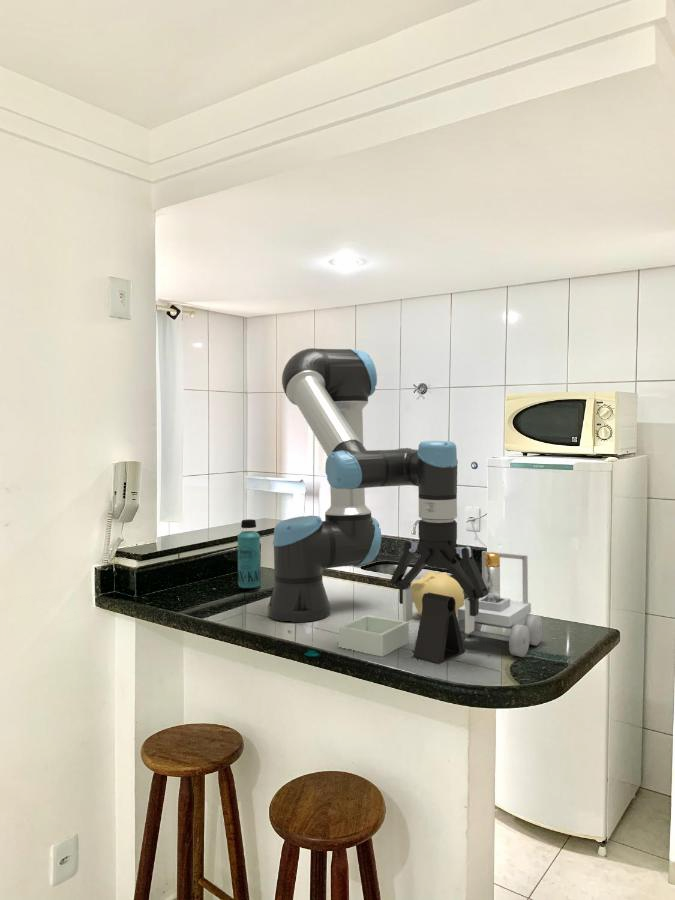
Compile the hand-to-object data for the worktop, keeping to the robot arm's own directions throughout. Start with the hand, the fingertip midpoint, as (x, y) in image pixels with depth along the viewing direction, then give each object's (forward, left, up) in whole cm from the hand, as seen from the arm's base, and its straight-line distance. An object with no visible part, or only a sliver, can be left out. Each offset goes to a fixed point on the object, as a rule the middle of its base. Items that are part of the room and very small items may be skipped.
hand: (437, 625), depth 138 cm
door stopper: (0, 0, -6) cm, 6 cm away
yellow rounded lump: (-12, +24, -6) cm, 27 cm away
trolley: (+7, +12, -6) cm, 15 cm away
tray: (-14, -2, -6) cm, 15 cm away
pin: (+7, +11, +2) cm, 13 cm away
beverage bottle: (-69, +21, -6) cm, 72 cm away
